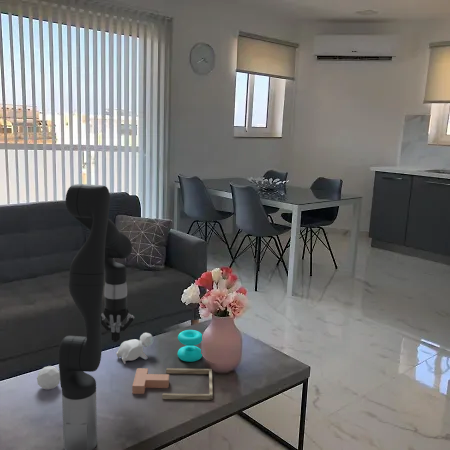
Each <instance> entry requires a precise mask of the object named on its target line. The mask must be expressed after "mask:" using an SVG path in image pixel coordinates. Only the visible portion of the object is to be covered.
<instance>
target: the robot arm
mask: <svg viewBox="0 0 450 450" xmlns="http://www.w3.org/2000/svg"><path fill="white" fill-rule="evenodd" d="M65 207H66V210H67V211H68V213H69V215H71V216H72V218H74V219H75V220H76V221H78V222H79V223H80V224H82V225H83V227H85V228H86V229H87V230H88V231H89V235H88V237H87V239H86V240H85V242H84V243H83V245H82V246H81V248H80V249H79V250H78V251H77V253H76V255H75V256H74V257H73V259H72V261H71V263H70V265H69V277H68V290H69V294H70V296H71V299H72V300H73V302H74V305H75V306H76V307H77V309H78V311H79V312H80V314H81V317H82V318H83V321H84V326H85V331H86V332H85V333H86V336H82V335H81V336H79V335H66V336H65V337H63V338H62V340H60V341H61V342H60V343H59V347H58V355H57V356H58V357H57V358H58V362H57V363H58V370H59V372H60V382H59V384H60V388H61V400H62V402H61V403H62V437H63V438H62V439H63V440H62V441H63V450H94V449H95V447H96V446H97V444H98V432H97V431H98V428H97V426H98V425H97V424H98V423H97V420H98V419H97V381H96V379H95V377H94V376H92V375H91V374H90V373H89V372H91V373H92V372H95V371H97V370H98V368H99V367H100V364H101V361H102V360H101V359H102V352H103V350H102V348H103V346H102V345H103V344H102V342H103V341H102V339H103V337H102V335H103V334H102V333H103V332H102V327H103V328H104V329H105V330H106V331H107V332H108V331H109V332H111V341H113V343H119V341H120V340H121V332H125V330H126V329H127V328H128V327H129V326H130V325H131V324H132V323H133V321H134V319H135V315H134V314H131V313H130V312H129V310H128V285H127V267H126V265H125V264H122V263H120V262H117V261H116V260H115V259H122V260H123V259H127V258H129V256H130V255H132V252H133V243H132V241H131V240H130V238H129V237H128V236H127V235H125V234H124V233H123V232H121V231H119V229H118V228H117V226H116V224H115V223H114V222H113V221H112V220H111V219H110V218H109V216H110V207H111V195H110V189H109V188H108V187H107V185H101V184H87V183H85V184H83V183H80V184H79V183H78V184H77V183H76V184H72V185H70V186H69V187H68V189H67V191H66V193H65ZM103 292H104V295H103ZM103 296H104V310H103V311H102V308H103ZM125 319H126V321H125ZM124 321H125V322H124ZM122 322H124V324H123V325H122ZM86 372H88V373H86Z"/></svg>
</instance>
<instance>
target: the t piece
mask: <svg viewBox="0 0 450 450" xmlns="http://www.w3.org/2000/svg"><path fill="white" fill-rule="evenodd" d="M169 385H170V373H165V374H164V373H163V374H162V373H161V374H160V373H158V374H157V373H154V374H153V373H149V368H144V367H143V368H141V367H139V368H136V371H135V375H134V379H133V383H132V386H131V389H132V394H133V395H144V394H145V391H146V388H148V389H150V388H151V389H169Z"/></svg>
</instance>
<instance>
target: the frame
mask: <svg viewBox="0 0 450 450" xmlns="http://www.w3.org/2000/svg"><path fill="white" fill-rule="evenodd" d="M212 370H213V369H212V368H181V367H179V368H177V367H176V368H172V367H169V368H168V367H166V369H165V374H180V375H182V374H186V375H188V374H193V375H196V374H197V375H208V383H209V385H208V389H209V390H208V391H209V392H208V393H165V392H163V393H162V397H161V398H162V400H199V401H200V400H202V401H203V400H205V401H206V400H207V401H208V400H210V401H212V400H213V397H214V396H213V393H214V392H213V371H212Z"/></svg>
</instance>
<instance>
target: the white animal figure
mask: <svg viewBox="0 0 450 450" xmlns="http://www.w3.org/2000/svg"><path fill="white" fill-rule="evenodd" d="M153 344H154V337H153V334H151V333H149V332H143V333H142V334H141V335H140V337H139V339H135V338H134V339H129V340H124V341H123V342H121V344H120V346H119V348H118V349H117V352H115V354H116V357H117V359H120V358H121V360H122V362H123V364H124V365H125V364H126V362H127V361H135V360H136V359H138V358H141V359H144V360H147V359H148V358H149V357H148V355H146V354H145V352H144V347H145V348H148V347H149V346H152V345H153Z"/></svg>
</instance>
